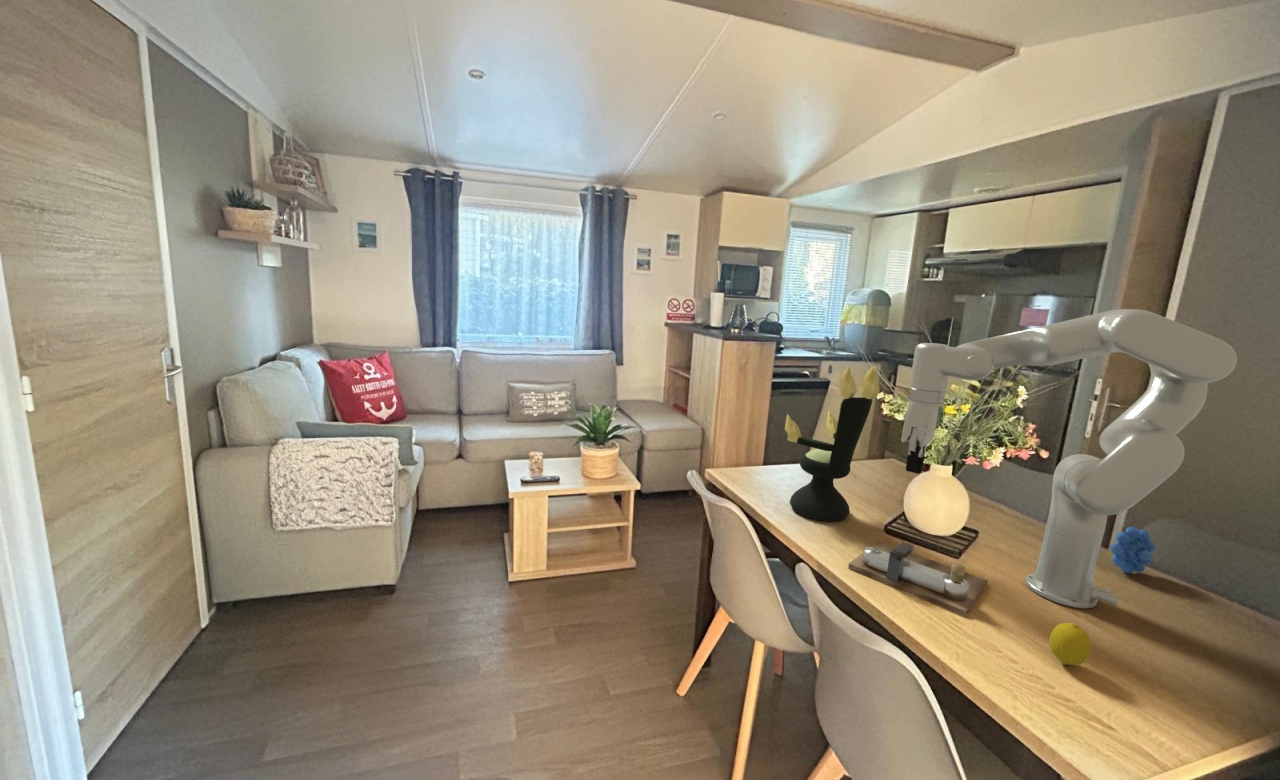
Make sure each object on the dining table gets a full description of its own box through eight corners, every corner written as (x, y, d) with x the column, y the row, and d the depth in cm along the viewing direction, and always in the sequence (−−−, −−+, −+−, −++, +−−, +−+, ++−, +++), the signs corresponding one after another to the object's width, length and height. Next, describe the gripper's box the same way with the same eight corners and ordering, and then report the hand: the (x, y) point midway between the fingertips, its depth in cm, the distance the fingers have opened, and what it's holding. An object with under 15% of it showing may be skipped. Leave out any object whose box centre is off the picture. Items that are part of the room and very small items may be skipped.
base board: (986, 585, 117) (993, 552, 116) (965, 616, 104) (972, 580, 103) (877, 544, 134) (882, 515, 132) (848, 568, 121) (852, 536, 119)
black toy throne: (817, 495, 166) (836, 354, 157) (879, 523, 147) (904, 366, 138) (774, 504, 156) (791, 355, 148) (834, 535, 137) (857, 367, 129)
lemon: (1092, 678, 89) (1103, 636, 87) (1056, 671, 90) (1066, 630, 88) (1073, 656, 94) (1082, 617, 93) (1038, 650, 95) (1048, 611, 94)
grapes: (1124, 583, 122) (1137, 535, 120) (1096, 568, 128) (1107, 522, 126) (1166, 582, 124) (1179, 535, 121) (1136, 567, 130) (1147, 522, 128)
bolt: (968, 594, 110) (971, 581, 109) (964, 603, 106) (966, 590, 106) (866, 556, 124) (868, 544, 123) (859, 563, 120) (861, 551, 120)
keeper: (909, 570, 119) (914, 545, 118) (897, 583, 113) (901, 556, 112) (898, 566, 121) (902, 541, 120) (885, 578, 115) (890, 552, 114)
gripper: (917, 390, 128) (906, 461, 132) (898, 397, 118) (886, 474, 121) (952, 396, 123) (939, 469, 127) (935, 403, 113) (921, 483, 116)
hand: (913, 471), depth 124 cm, fingers closed
